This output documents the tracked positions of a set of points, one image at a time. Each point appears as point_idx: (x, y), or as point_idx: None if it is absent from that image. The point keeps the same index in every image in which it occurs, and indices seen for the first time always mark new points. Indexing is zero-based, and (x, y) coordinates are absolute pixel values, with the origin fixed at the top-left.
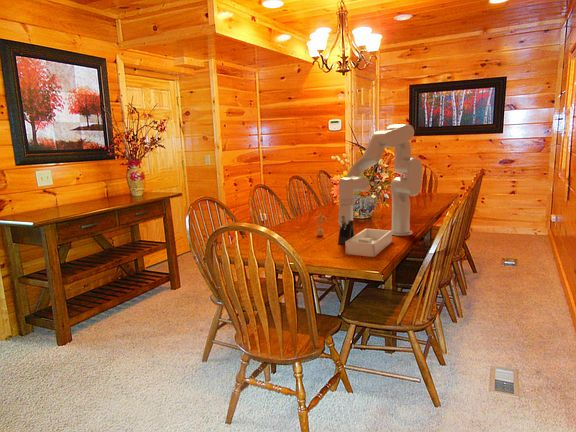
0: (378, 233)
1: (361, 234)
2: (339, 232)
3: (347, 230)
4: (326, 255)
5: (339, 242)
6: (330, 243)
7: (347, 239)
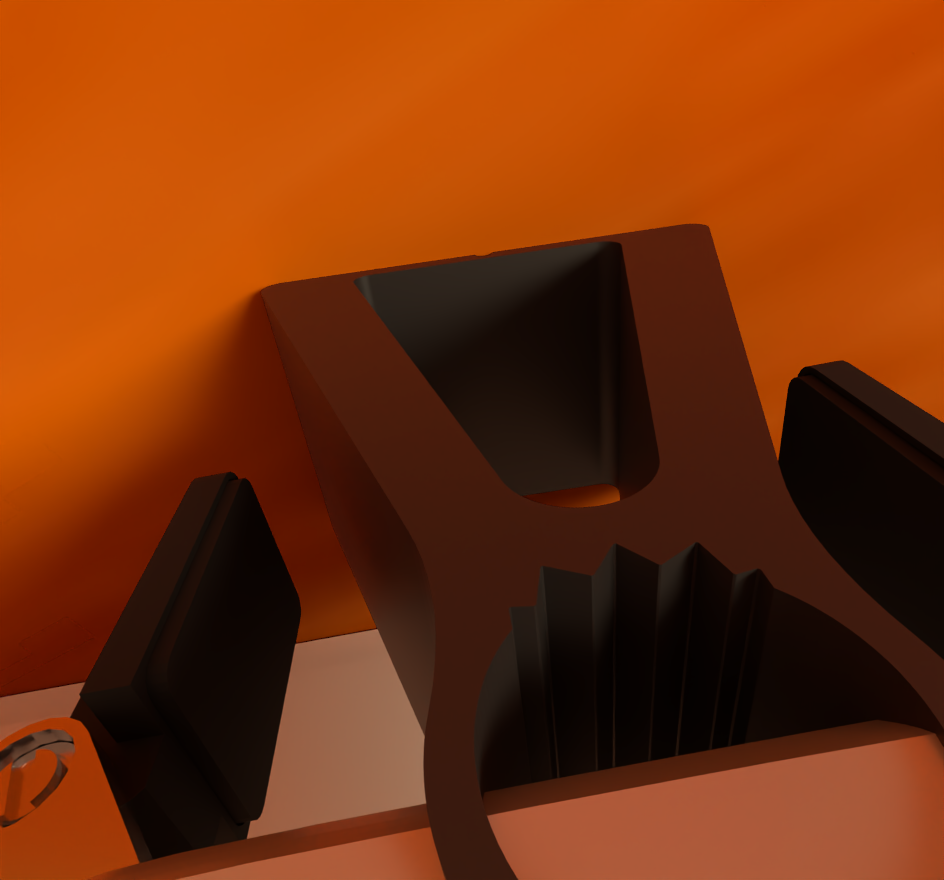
0: None
1: None
2: (327, 403)
3: (424, 713)
4: None
5: (276, 335)
6: (177, 44)
7: (349, 554)
